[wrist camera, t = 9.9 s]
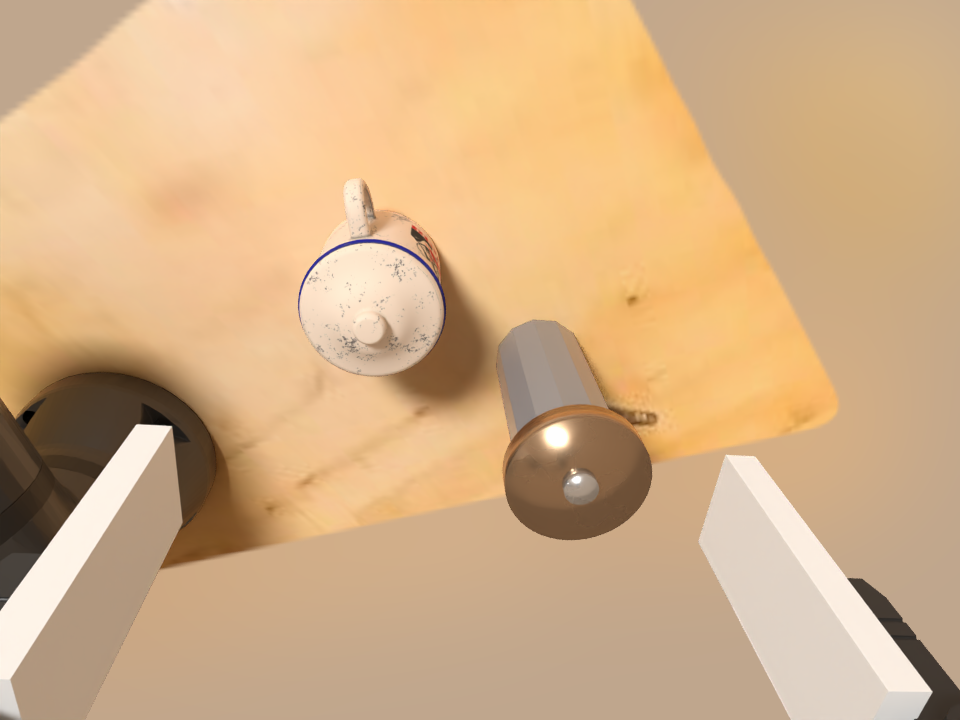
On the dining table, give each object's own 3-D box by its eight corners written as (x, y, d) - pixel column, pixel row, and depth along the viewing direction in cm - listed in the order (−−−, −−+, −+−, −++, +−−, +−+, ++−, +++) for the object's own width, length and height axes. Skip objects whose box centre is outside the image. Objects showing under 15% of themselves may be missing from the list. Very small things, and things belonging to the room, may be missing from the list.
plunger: (481, 419, 53) (498, 546, 40) (493, 318, 49) (516, 422, 36) (588, 425, 54) (639, 551, 41) (609, 326, 50) (671, 430, 37)
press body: (488, 422, 56) (506, 535, 44) (502, 317, 52) (525, 409, 40) (566, 426, 57) (605, 539, 44) (586, 323, 53) (634, 416, 40)
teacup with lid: (451, 315, 52) (457, 388, 41) (333, 331, 52) (309, 409, 41) (426, 154, 46) (425, 192, 36) (295, 173, 46) (255, 216, 36)
